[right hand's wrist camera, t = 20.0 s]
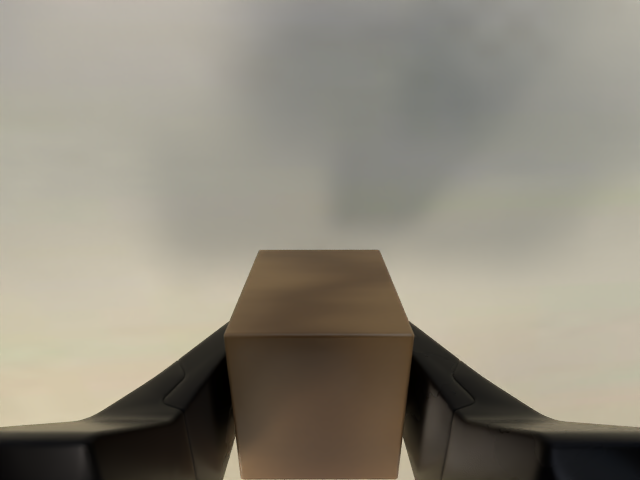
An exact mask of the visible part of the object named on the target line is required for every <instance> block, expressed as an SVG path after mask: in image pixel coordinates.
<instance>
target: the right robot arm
mask: <svg viewBox="0 0 640 480" xmlns="http://www.w3.org/2000/svg"><path fill="white" fill-rule="evenodd" d="M228 323H229V322H228ZM228 323H226V324H225V325H224V326H222V327H221V328H220V329H218V330H217V331H216V332H214V333H213V334H212V335H210V336H209V337H208V338H206V339H205V340H204V341H203V342H201V343H200V344H199V345H197V346H196V347H195V348H193V349H192V350H191V351H189V352H188V353H187V354H185V355H184V356H183V357H181V358H180V359H179V360H178V361H176V362H175V363H173V364H172V365H171V366H169V367H168V368H167V369H165V370H164V371H163V372H161V373H160V374H158V375H157V376H156V377H154V378H153V379H151V380H150V381H148V382H147V383H145V384H144V385H142V386H140V387H139V388H137V389H136V390H134V391H133V392H131V393H129V394H128V395H126V396H125V397H123V398H122V399H120V400H118V401H117V402H115V403H114V404H112V405H111V406H109V407H107V408H106V409H104V410H103V411H101V412H99V413H98V414H96V415H93V416H91V417H89V418H86V419H83V420H79V421H73V422H61V423H48V424H35V425H22V426H9V427H0V480H223V478H224V474H225V471H226V467H227V464H228V460H229V457H230V453H231V450H232V446H233V443H234V439H235V436H236V434H235V426H234V417H233V409H232V401H231V393H230V384H229V376H228V368H227V360H226V352H225V343H224V333H225V331H226V328H227V326H228ZM409 323H410V326H411V328H412V331H413V333H414V343H413V352H412V360H411V369H410V377H409V386H408V394H407V403H406V411H405V420H404V428H403V439H404V442H405V446H406V449H407V453H408V456H409V460H410V463H411V467H412V470H413V474H414V477H415V480H640V427H628V426H615V425H602V424H589V423H576V422H564V421H558V420H554V419H551V418H549V417H546V416H544V415H542V414H540V413H538V412H537V411H535V410H533V409H532V408H530V407H529V406H527V405H525V404H524V403H522V402H521V401H519V400H518V399H516V398H514V397H513V396H511V395H510V394H508V393H507V392H505V391H503V390H502V389H500V388H499V387H497V386H496V385H494V384H493V383H491V382H490V381H488V380H487V379H485V378H484V377H482V376H481V375H479V374H478V373H477V372H475V371H474V370H473V369H471V368H470V367H469V366H467V365H466V364H465V363H463V362H462V361H460V360H459V359H458V358H457V357H455V356H454V355H453V354H451V353H450V352H449V351H447V350H446V349H445V348H444V347H442V346H441V345H440V344H438V343H437V342H436V341H434V340H433V339H432V338H430V337H429V336H428V335H427V334H425V333H424V332H423V331H421V330H420V329H419V328H417V327H416V326H415V325H413V324H412V323H411V322H410V321H409Z"/></svg>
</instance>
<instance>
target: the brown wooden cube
mask: <svg viewBox="0 0 640 480" xmlns="http://www.w3.org/2000/svg"><path fill="white" fill-rule="evenodd" d="M224 343H225V352H226V360H227V368H228V376H229V384H230V393H231V401H232V409H233V417H234V426H235V434H236V442H237V450H238V459H239V467H240V475H241V478H242V479H244V480H262V479H397V478H398V471H399V463H400V454H401V445H402V437H403V428H404V420H405V411H406V403H407V394H408V386H409V377H410V369H411V360H412V352H413V343H414V333H413V331H412V328H411V326H410V323H409V321H408V318H407V316H406V314H405V311H404V309H403V306H402V304H401V301H400V299H399V297H398V294H397V292H396V289H395V287H394V284H393V282H392V279H391V277H390V275H389V272H388V270H387V267H386V265H385V262H384V260H383V258H382V255H381V253H380V251H379V250H259V252H258V254H257V256H256V259H255V261H254V264H253V266H252V268H251V271H250V273H249V276H248V278H247V280H246V283H245V285H244V288H243V290H242V292H241V295H240V297H239V300H238V302H237V304H236V307H235V309H234V311H233V314H232V316H231V319H230V321H229V323H228V326H227V328H226V331H225V333H224Z"/></svg>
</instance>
